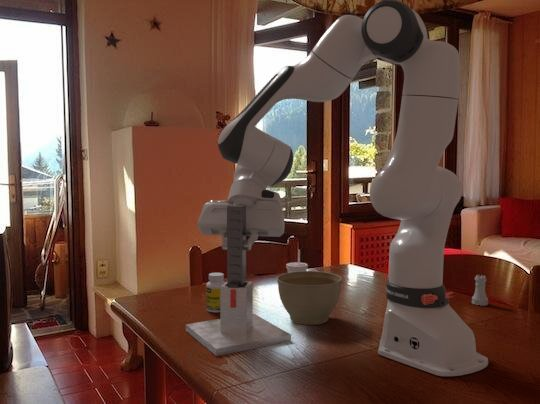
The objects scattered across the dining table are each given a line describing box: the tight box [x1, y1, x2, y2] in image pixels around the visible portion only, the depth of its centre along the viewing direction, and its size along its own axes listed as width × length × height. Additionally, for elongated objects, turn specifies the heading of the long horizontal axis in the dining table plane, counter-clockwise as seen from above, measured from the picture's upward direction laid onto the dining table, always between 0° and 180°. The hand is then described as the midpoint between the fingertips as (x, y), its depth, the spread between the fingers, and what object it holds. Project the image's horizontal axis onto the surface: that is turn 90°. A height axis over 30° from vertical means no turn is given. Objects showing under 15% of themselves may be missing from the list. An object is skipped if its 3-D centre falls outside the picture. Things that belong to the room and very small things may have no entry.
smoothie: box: [285, 249, 309, 273], centre depth 151 cm, size 6×6×14 cm
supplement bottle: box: [205, 272, 226, 313], centre depth 138 cm, size 5×5×10 cm
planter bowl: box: [276, 270, 343, 326], centre depth 130 cm, size 16×16×11 cm
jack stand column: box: [226, 205, 247, 287], centre depth 116 cm, size 4×4×24 cm
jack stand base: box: [185, 280, 292, 357], centre depth 117 cm, size 18×18×13 cm
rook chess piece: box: [471, 274, 489, 307], centre depth 144 cm, size 4×4×8 cm
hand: (236, 248), depth 116 cm, fingers closed on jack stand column, 3 cm apart
